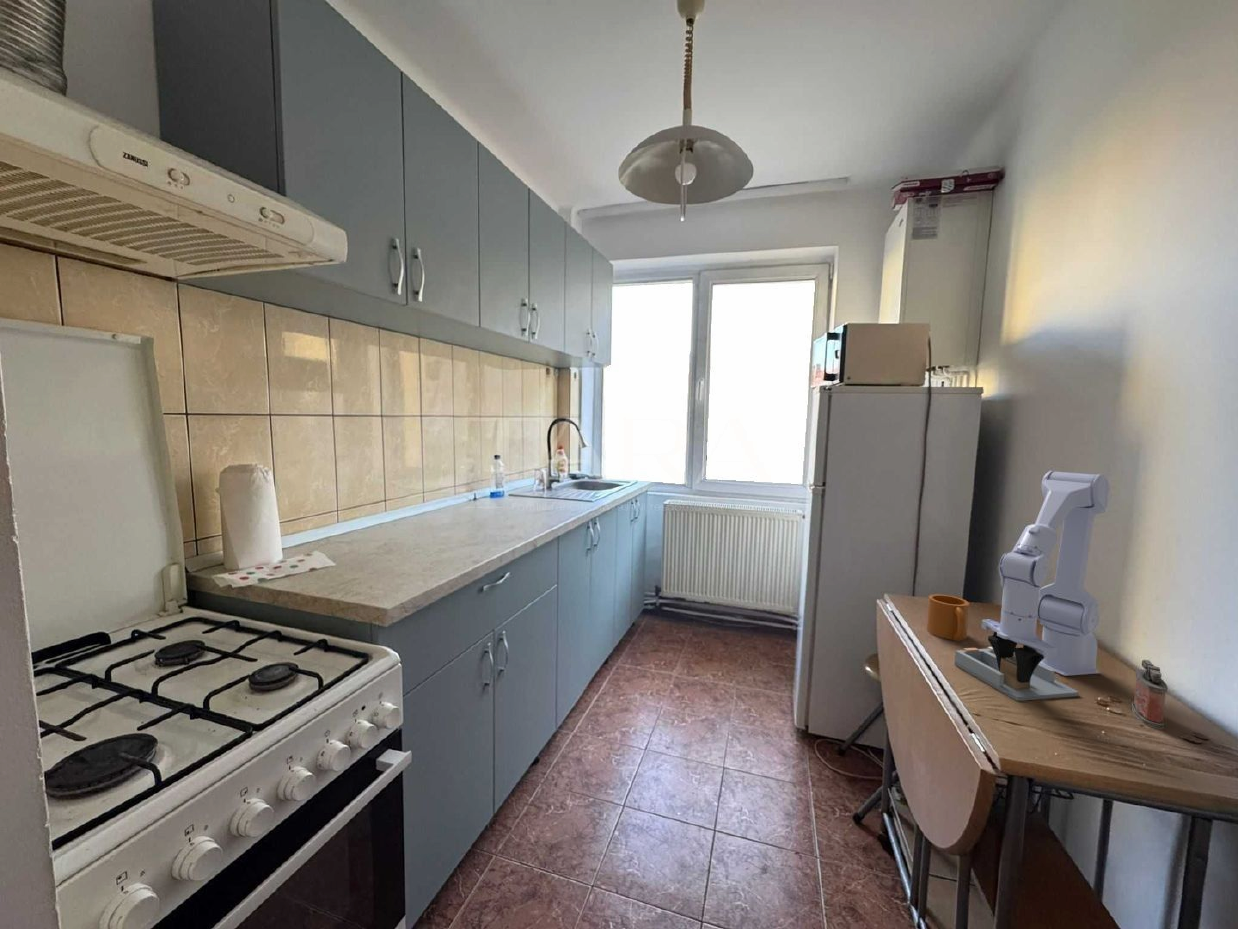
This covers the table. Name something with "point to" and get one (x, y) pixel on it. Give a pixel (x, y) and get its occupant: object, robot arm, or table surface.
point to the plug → (1012, 674)
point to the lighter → (1149, 695)
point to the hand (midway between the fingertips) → (1013, 676)
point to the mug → (947, 617)
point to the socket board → (987, 670)
